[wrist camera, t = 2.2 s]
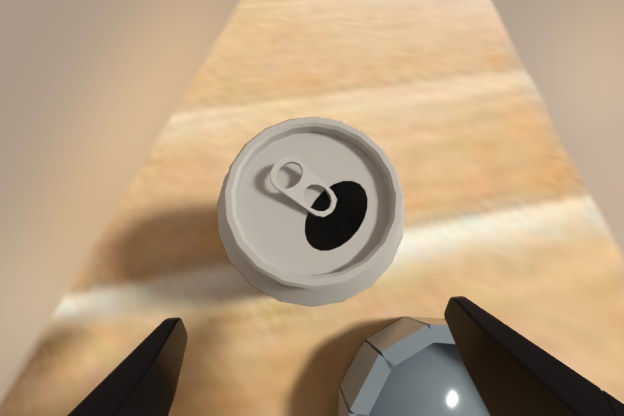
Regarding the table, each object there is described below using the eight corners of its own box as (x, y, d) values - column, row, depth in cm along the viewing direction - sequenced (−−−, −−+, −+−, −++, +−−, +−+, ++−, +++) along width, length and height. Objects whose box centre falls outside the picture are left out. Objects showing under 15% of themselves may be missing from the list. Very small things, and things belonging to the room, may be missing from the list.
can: (315, 314, 18) (344, 370, 7) (237, 253, 19) (148, 212, 8) (369, 234, 20) (463, 173, 9) (296, 182, 21) (294, 65, 10)
